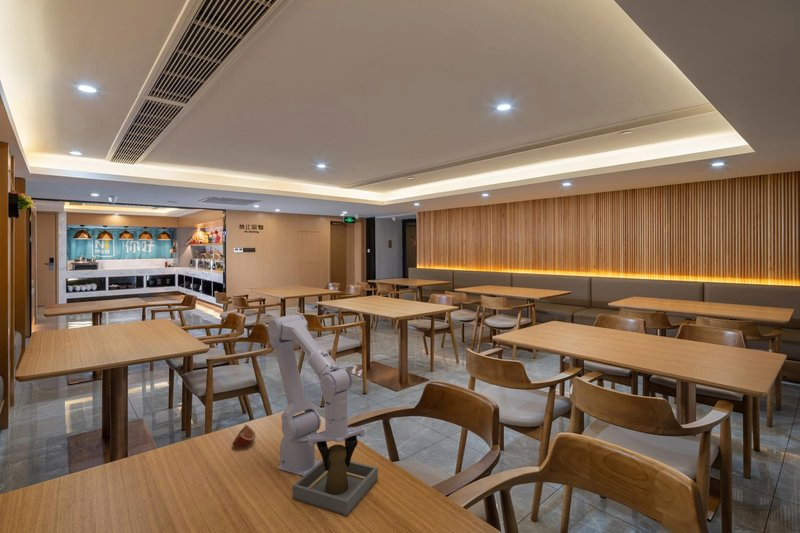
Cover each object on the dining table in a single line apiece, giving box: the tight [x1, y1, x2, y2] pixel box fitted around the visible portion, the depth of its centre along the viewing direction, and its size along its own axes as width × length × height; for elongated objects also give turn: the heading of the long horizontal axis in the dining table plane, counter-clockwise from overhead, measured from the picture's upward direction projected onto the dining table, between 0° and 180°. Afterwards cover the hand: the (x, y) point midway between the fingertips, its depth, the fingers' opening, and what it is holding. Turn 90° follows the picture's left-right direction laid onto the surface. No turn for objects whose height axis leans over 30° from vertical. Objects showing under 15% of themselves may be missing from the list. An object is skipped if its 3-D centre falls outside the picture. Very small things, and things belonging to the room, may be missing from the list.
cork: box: [325, 444, 348, 495], centre depth 105 cm, size 6×6×11 cm
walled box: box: [292, 459, 379, 517], centre depth 106 cm, size 16×16×4 cm
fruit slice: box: [232, 424, 256, 448], centre depth 129 cm, size 8×7×5 cm
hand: (336, 466), depth 105 cm, fingers open, 5 cm apart
